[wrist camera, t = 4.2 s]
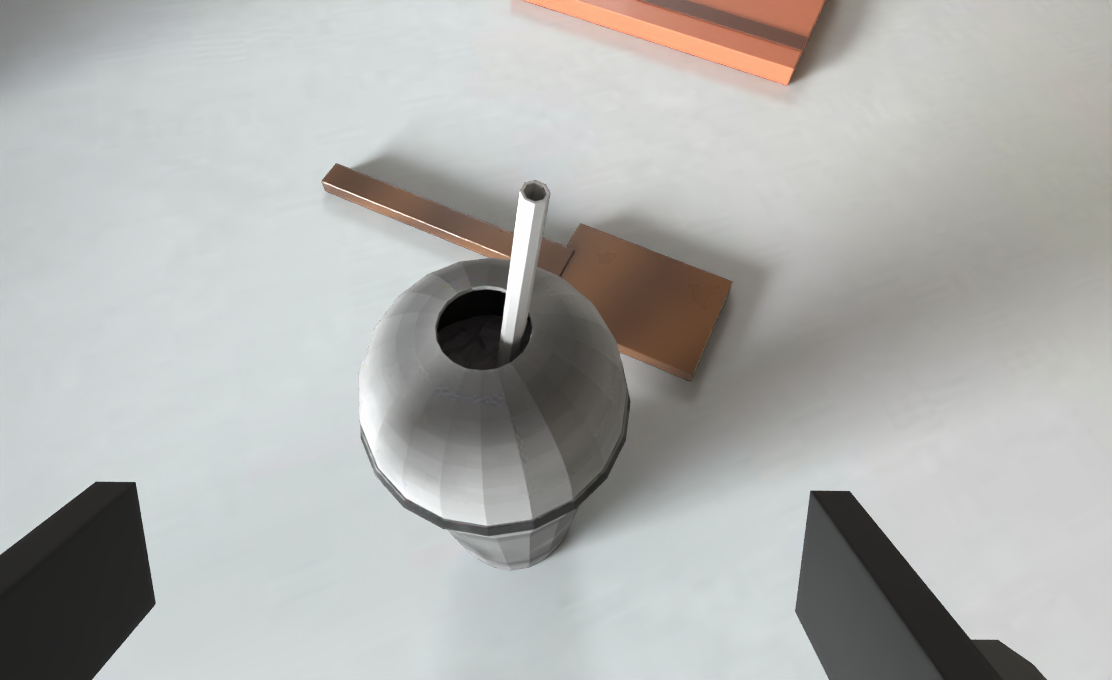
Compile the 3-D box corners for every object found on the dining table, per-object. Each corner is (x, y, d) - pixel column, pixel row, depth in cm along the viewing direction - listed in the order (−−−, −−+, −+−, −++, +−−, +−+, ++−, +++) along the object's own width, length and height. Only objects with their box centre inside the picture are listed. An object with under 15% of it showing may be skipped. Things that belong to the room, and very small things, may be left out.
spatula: (301, 219, 36) (296, 209, 36) (361, 146, 39) (357, 135, 38) (690, 382, 32) (693, 374, 32) (729, 289, 35) (733, 280, 34)
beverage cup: (431, 428, 31) (282, 37, 14) (600, 430, 31) (667, 42, 14) (414, 606, 28) (184, 389, 10) (604, 608, 28) (703, 393, 10)
